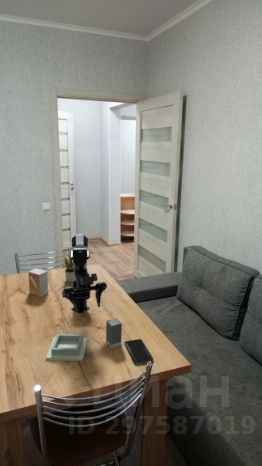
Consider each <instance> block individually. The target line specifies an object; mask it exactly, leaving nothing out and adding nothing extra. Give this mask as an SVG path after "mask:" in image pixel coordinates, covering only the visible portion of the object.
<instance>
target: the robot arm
mask: <svg viewBox="0 0 262 466" xmlns="http://www.w3.org/2000/svg"><path fill="white" fill-rule="evenodd" d="M71 248H72V250H70V251H71V253H70V254H71V260H72V262H73V269H74V274H75V281H73V283H72V286H67V287H63V290H62V291H61V295H62V298H63V299H65V300H68V301H69V302H70V304H72V305H73V307H72V308H71V311H74V312H76V313H79V314H83V313H85V312H86V311H88V310H89V309H90V307H89V306H88V300H89V299H90V298H91V291H95V293H94V295H95V300H96V304H97V307H98V308H100V307H101V301H102V300H101V299H102V295H103V293H104V292H105V291H106V290H107V288H108V284H107V283H106V282H105V281H100V282H97V281H98V275H97V273H91V274H89V272H88V267H87V266H88V264H87V263H88V261H89V259H90V258H91V252H90V251H89V249H88V248H89V239H88V237H87V236H86V235H85V234H84V233H75V234H74V236H73V237H71ZM94 282H97V283H96V284H95V283H94ZM94 284H95V285H94Z"/></svg>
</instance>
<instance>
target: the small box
mask: <svg viewBox="0 0 262 466" xmlns="http://www.w3.org/2000/svg"><path fill="white" fill-rule="evenodd" d="M27 272H28V293H29V295H33V296H36V297H39V298H42V297H43V296H45V295H48V294H49V282H48V281H49V279H48V277H49V276H48V270H44V269H40V268H37V267H36V268H34V269H32V270H31V269H30V270H29V271H27Z"/></svg>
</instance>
